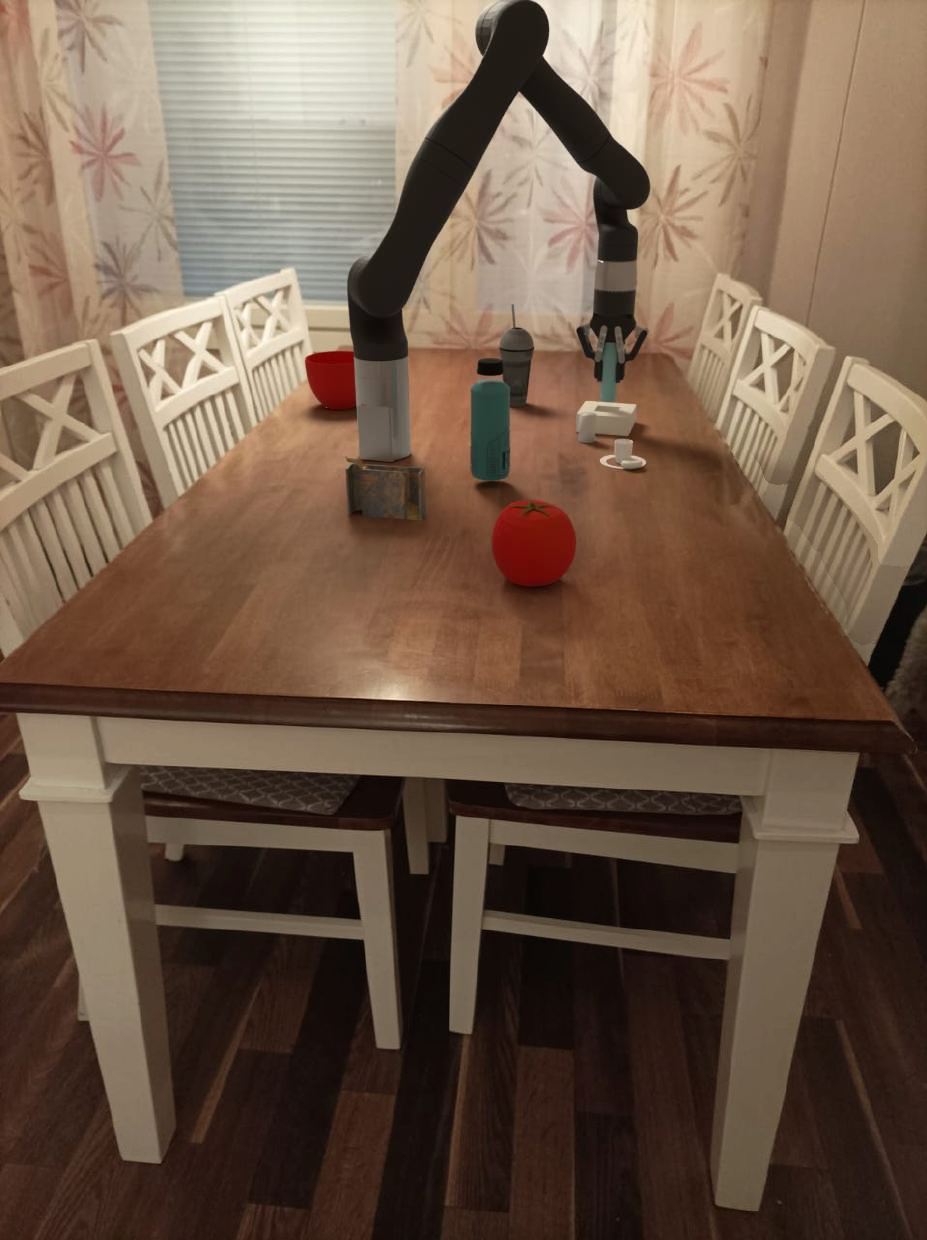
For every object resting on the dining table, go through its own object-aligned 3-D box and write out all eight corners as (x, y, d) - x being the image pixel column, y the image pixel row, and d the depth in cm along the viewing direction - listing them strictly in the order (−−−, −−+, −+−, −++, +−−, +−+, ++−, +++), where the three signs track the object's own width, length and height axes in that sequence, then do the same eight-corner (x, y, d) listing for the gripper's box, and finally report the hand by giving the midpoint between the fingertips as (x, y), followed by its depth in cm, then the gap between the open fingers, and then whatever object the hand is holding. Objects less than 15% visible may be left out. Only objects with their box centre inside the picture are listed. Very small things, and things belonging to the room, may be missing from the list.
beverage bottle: (506, 491, 153) (509, 364, 144) (465, 488, 155) (465, 362, 145) (512, 478, 159) (515, 355, 150) (473, 475, 160) (473, 353, 151)
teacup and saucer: (644, 474, 162) (646, 451, 160) (597, 471, 163) (598, 448, 162) (646, 458, 170) (648, 436, 168) (601, 456, 171) (602, 433, 169)
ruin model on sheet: (347, 518, 144) (343, 456, 140) (353, 511, 147) (349, 450, 142) (420, 524, 142) (419, 460, 138) (425, 516, 145) (424, 454, 140)
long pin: (614, 402, 182) (618, 343, 177) (598, 401, 183) (602, 342, 178) (616, 398, 184) (620, 340, 179) (601, 397, 185) (604, 339, 180)
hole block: (628, 436, 180) (629, 417, 179) (575, 431, 183) (576, 413, 181) (635, 422, 189) (636, 404, 187) (584, 418, 191) (585, 400, 190)
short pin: (593, 443, 176) (594, 416, 174) (577, 442, 177) (578, 415, 175) (595, 439, 179) (597, 412, 176) (580, 437, 180) (581, 411, 177)
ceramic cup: (386, 414, 195) (384, 364, 190) (303, 414, 195) (299, 364, 190) (392, 398, 206) (390, 350, 202) (313, 397, 206) (310, 350, 202)
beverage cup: (519, 410, 197) (522, 309, 188) (491, 404, 201) (492, 305, 192) (539, 403, 202) (542, 304, 193) (510, 397, 206) (512, 300, 197)
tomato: (522, 557, 130) (524, 481, 125) (588, 578, 124) (593, 499, 119) (473, 583, 123) (473, 503, 118) (541, 606, 117) (544, 523, 112)
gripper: (573, 287, 173) (568, 384, 180) (651, 290, 169) (643, 388, 177) (580, 281, 179) (576, 375, 187) (656, 284, 175) (648, 379, 183)
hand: (609, 381), depth 182 cm, fingers closed on long pin, 3 cm apart
